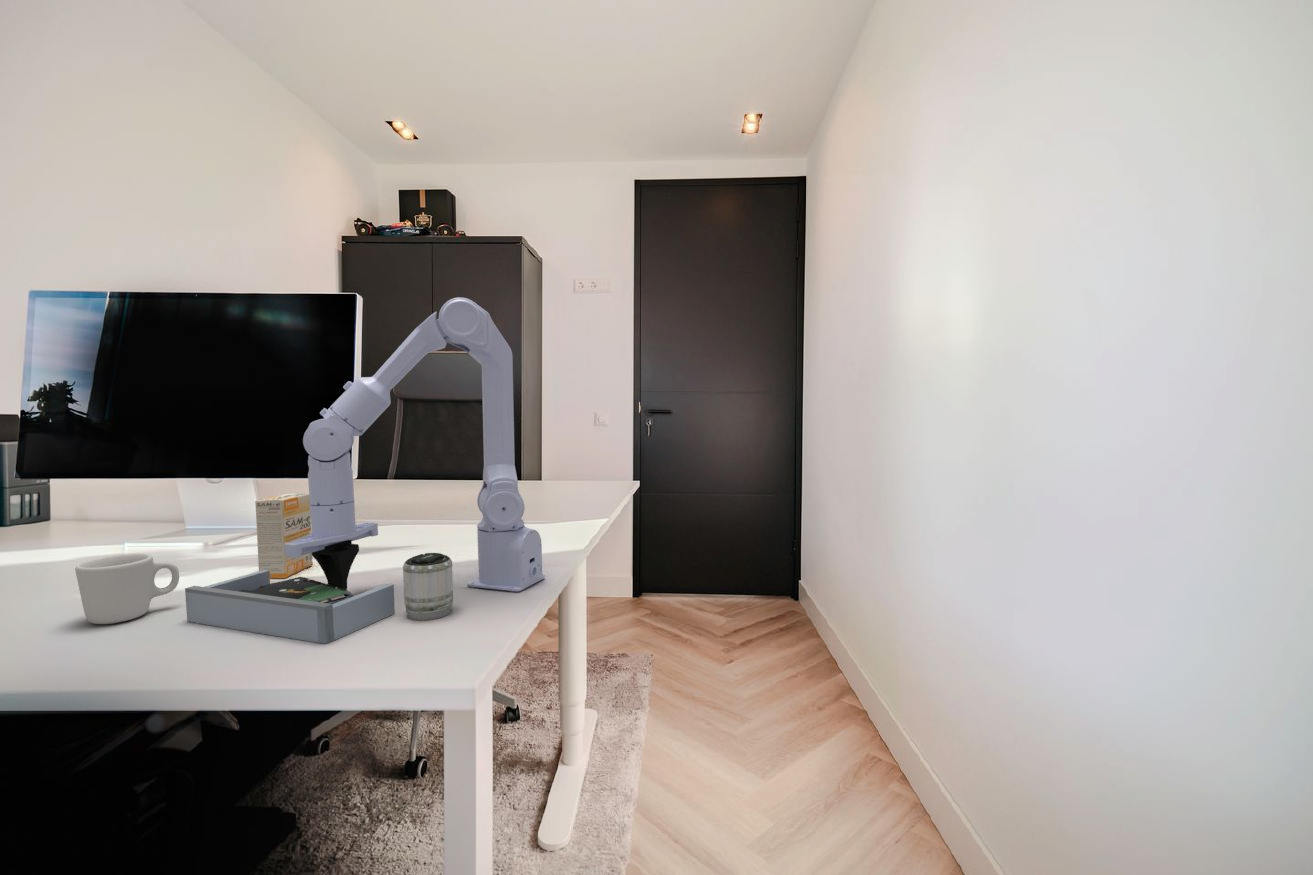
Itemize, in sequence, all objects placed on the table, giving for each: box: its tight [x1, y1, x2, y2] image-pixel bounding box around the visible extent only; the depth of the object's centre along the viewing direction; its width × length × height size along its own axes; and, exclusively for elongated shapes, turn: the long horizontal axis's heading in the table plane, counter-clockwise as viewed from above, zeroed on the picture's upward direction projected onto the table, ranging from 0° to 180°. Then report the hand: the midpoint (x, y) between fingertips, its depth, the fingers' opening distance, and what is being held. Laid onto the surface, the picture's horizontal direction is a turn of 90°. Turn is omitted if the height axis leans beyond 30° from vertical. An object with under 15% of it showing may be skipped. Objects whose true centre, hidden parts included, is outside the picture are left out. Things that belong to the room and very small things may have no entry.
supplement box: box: [254, 492, 313, 579], centre depth 108 cm, size 8×5×13 cm, turn 179°
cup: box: [74, 553, 180, 625], centre depth 87 cm, size 11×8×8 cm
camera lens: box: [402, 552, 454, 621], centre depth 86 cm, size 6×6×8 cm
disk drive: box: [238, 576, 354, 604], centre depth 88 cm, size 10×3×15 cm
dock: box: [184, 570, 396, 645], centre depth 85 cm, size 24×11×4 cm, turn 70°
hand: (337, 594), depth 92 cm, fingers closed, pressing on disk drive
